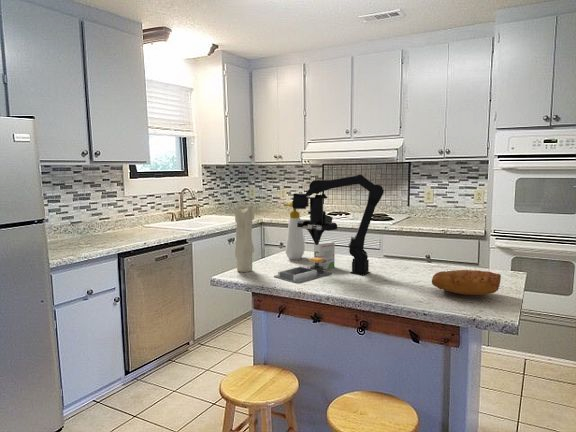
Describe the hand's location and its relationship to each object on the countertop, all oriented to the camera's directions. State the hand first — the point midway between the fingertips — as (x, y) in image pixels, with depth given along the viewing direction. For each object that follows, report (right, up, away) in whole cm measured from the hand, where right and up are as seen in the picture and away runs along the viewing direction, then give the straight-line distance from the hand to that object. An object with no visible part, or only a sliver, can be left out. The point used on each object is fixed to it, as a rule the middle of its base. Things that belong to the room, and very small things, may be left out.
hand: (316, 244), depth 183 cm
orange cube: (0, -10, +1) cm, 10 cm away
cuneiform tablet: (+51, -16, -33) cm, 62 cm away
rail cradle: (-6, -13, -5) cm, 15 cm away
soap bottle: (-10, -9, +29) cm, 32 cm away
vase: (-32, -12, +5) cm, 35 cm away
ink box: (+4, -11, +9) cm, 15 cm away
